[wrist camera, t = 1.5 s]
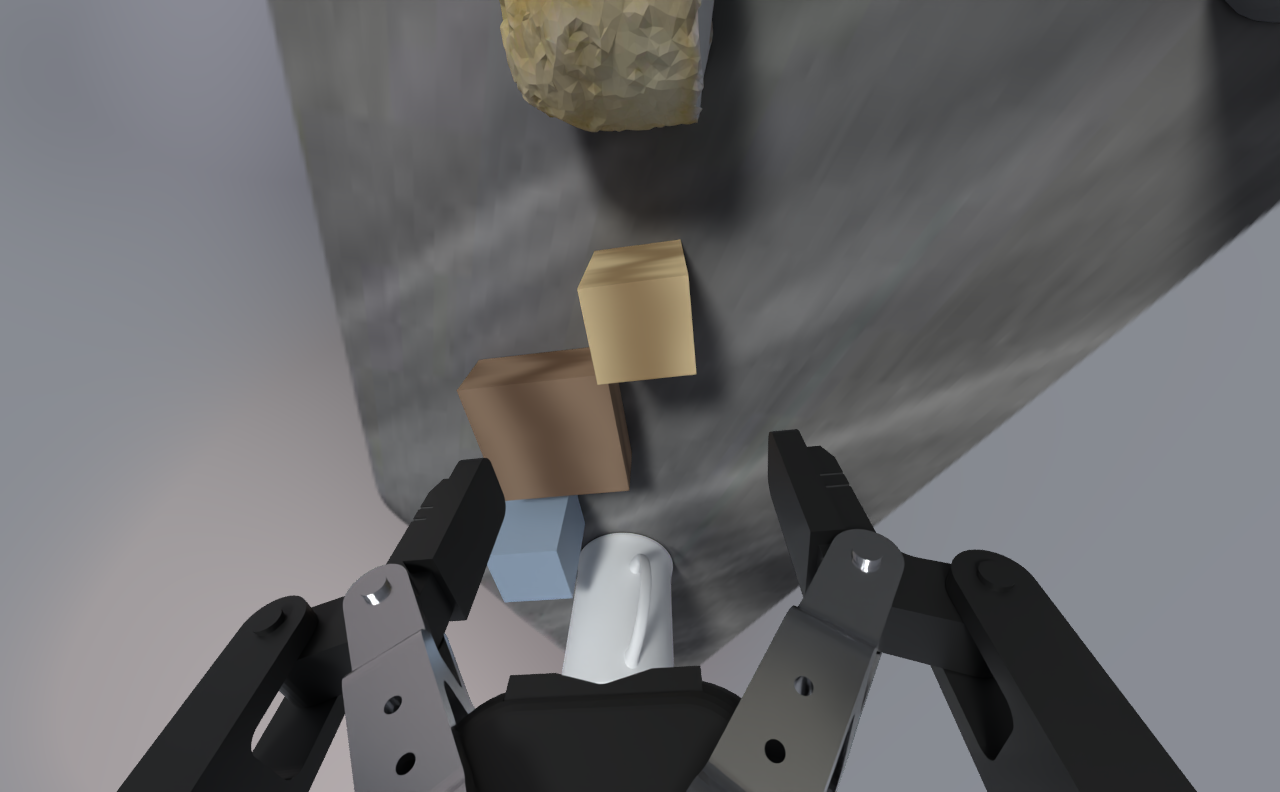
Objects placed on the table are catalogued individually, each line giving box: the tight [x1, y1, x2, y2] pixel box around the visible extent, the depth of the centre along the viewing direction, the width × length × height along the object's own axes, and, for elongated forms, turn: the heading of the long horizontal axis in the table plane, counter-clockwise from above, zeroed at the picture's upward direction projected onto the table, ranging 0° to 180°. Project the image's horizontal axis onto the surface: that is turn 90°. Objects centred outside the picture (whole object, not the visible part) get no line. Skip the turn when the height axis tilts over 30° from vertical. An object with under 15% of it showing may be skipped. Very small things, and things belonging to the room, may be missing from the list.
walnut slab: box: [457, 347, 632, 501], centre depth 30 cm, size 9×9×4 cm
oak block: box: [577, 240, 696, 385], centre depth 24 cm, size 5×5×7 cm
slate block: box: [487, 495, 585, 602], centre depth 34 cm, size 5×5×7 cm
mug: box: [562, 533, 674, 684], centre depth 35 cm, size 12×8×12 cm
